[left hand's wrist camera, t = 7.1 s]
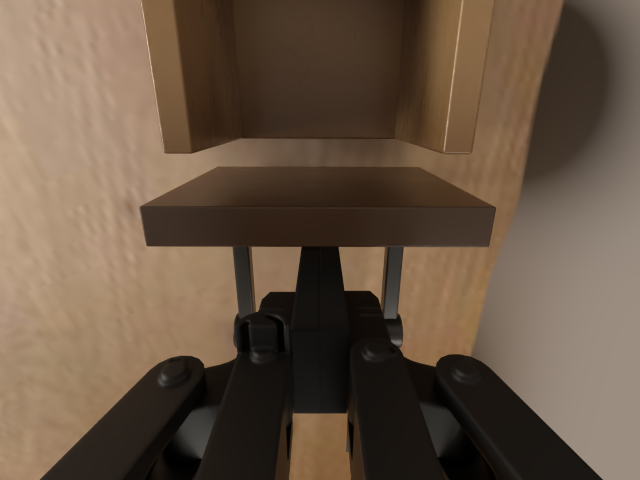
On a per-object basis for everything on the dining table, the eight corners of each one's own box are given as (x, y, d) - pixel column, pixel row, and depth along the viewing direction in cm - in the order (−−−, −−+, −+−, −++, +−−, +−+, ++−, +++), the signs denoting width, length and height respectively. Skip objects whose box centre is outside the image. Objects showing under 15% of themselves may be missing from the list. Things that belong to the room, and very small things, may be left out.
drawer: (407, 290, 19) (461, 399, 12) (229, 290, 19) (174, 399, 12) (469, -322, 11) (747, -1124, 4) (168, -323, 11) (-112, -1134, 4)
